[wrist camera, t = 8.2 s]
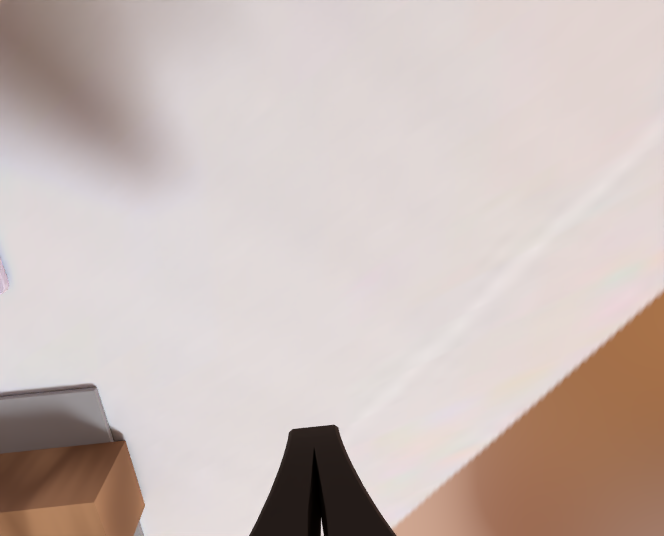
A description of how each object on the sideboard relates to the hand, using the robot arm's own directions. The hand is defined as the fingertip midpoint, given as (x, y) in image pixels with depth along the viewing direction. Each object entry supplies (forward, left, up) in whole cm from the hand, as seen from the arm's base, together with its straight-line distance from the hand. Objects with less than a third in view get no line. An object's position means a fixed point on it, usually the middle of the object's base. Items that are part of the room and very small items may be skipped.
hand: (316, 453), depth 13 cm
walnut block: (-11, -10, -8) cm, 17 cm away
